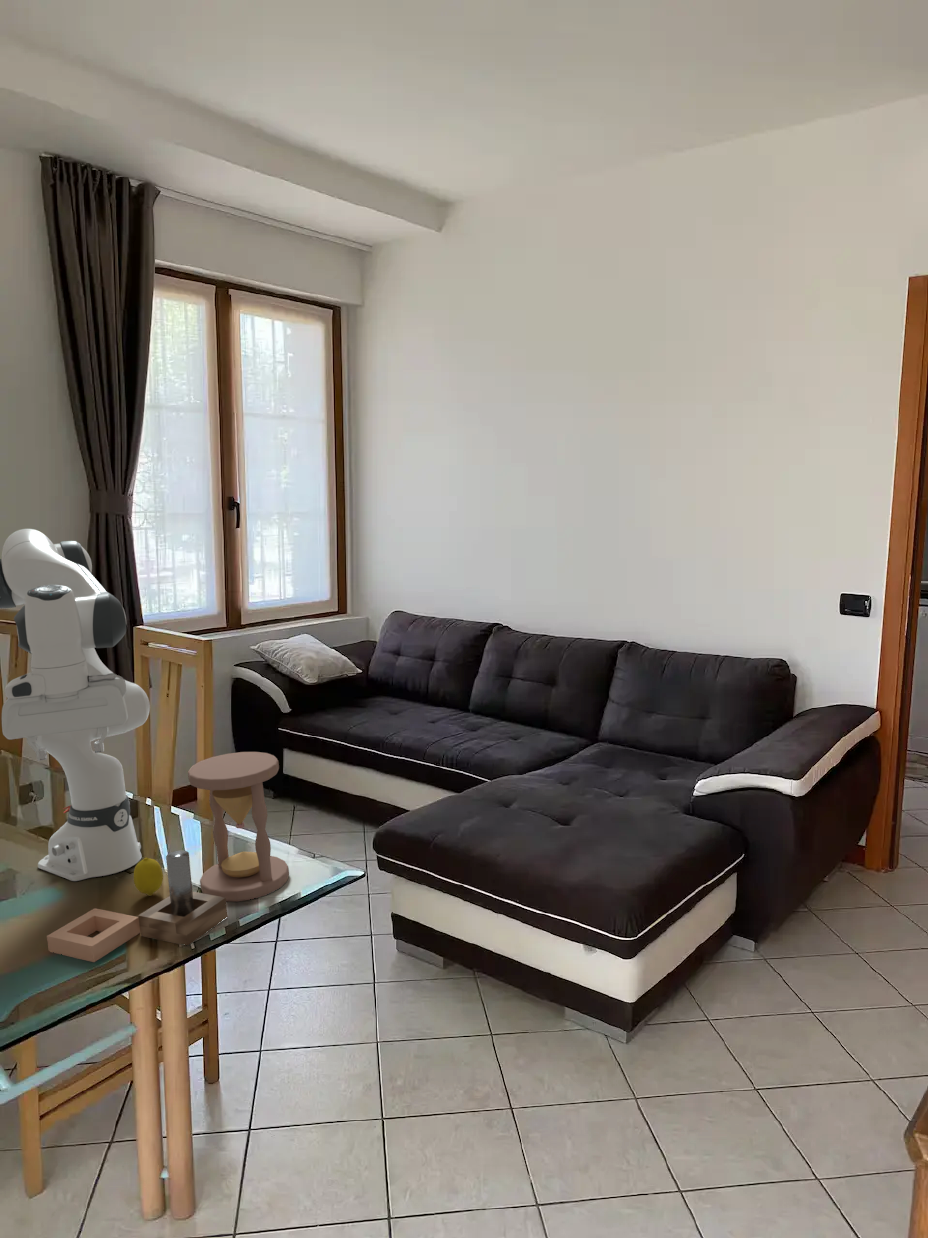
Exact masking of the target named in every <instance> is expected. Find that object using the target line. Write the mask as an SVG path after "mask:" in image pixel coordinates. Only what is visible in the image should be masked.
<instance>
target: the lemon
mask: <svg viewBox="0 0 928 1238" xmlns="http://www.w3.org/2000/svg"><path fill="white" fill-rule="evenodd" d="M160 864H161V863H159V862H158V861H157V860H156V859H154V858H151V857H150V858H149V857H147V856H146V857H144V858H143V859H140V861H139V862H138V863H136V864H135V867H134V870H133V883H134V886H135V888H136V889H137V891H139V892H140V893H142V894H146V895H148V896H153V894H154V893H155V892H157V891H159V889H160V888H161V886H162V884H163V880H164V872H163V870H162V866H161V865H160Z"/></svg>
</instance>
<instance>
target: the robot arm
mask: <svg viewBox="0 0 928 1238" xmlns="http://www.w3.org/2000/svg"><path fill="white" fill-rule="evenodd" d="M59 542H60V543H54V542H53V541H51V539H50V538H49V537H48V536H47V535H45V533H43V532H41V531H39V530H37V529H34V528H22V529H17V530H16V531H14V532H12V533H11V534H9V536H7V538H6V539H5V542H3V543H4V544H3V546H2V549H1V558H0V609H11V608H12V609H13V608H16V607H17V606H22V605H24V606H22V607H21V608H20V609H19V610H18V612H17V613H16V614H15V615H14V617H13V620H14V622H15V625H16V632H17V639H18V644H17V647H19V648H20V649H22V650H24V651H25V652H27V653H29V654H31V658H30V659H31V660H30V670H31V671H30V672H28V673H25V674H23V675H20V676H18V677H16V678H13V679H11V680H10V681H8V682H7V684H6V685H5V688H4V694H5V698H7V699H6V700H5V701H4V703H3V705H2V709H1V729H2V735H3V736H4V737H5V738H6V739H7V740H15V739H16V740H18V739H25V738H26V743H27V745H28V746H29V747H30V748H31V749H32V750H33V752H35V755H36V756H35V757H36V760H37V762H40V761H45V760H47V759H48V754H49V755H51V757H53V758H54V759H55V760H56V761H57V762H58V763H59V765H60V766H61V767H62V770H63V771H64V773H65V777H66V781H67V784H68V790H69V791H68V792H69V795H70V796H69V797H70V802H71V804H70V805H68V806H65V807H64V808H62V810H65V811H63V814H66V813H68V815H67V816H68V817H67V821H66V822H65V823H64V824H62V826H60V827H59V829H57V831H56V832H54V833H53V834H52V835H51V837H50V838H49V840H48V845H47V846H48V847H47V848H48V850H47V851H48V854H47V855H45V856H44V857H43V858H41V859H40V860H39V861H38V863H37V867H38V869H41V870H43V871H46V872H48V873H50V874H53V875H55V876H58V877H62V878H65V879H67V880H69V881H71V882H78V881H82V880H86V879H91V878H96V877H98V878H99V877H102V876H103V877H105V876H109V875H112V874H113V875H114V874H117V873H119V872H122V871H125V870H127V869H130V868H131V867H133V866H136V865H137V864H138V863H139V862H140V861H141V860H142V853H141V849H142V845H141V842H140V841H139V842H138V839H137V834H136V830H135V825H134V821H133V818H132V815H131V807H130V805H131V803H130V800H129V796H128V795H127V792H126V785H125V783H126V782H125V776H124V769H123V768H124V767H123V765H122V763H121V762H120V760H119V759H118V758H116V757H115V756H112V755H110V754H106V753H103V752H105V744H104V742H105V739H106V738H108V737H112V736H113V737H114V736H116V735H117V736H118V735H121V734H125V733H128V732H130V731H132V730H135V729H137V728H139V727H141V726H143V725H144V724H145V723H146V722H147V720H148V718H149V715H150V710H151V703H150V700H149V697H148V695H147V692H146V691H145V690H144V689H143V688H142V687H141V686H140V685H139V684H137V683H135V682H131V681H128V680H126V679H125V678H124V677H123V676H120V675H119V674H118V675H117V674H116V673H114V672H113V671H112V670H110V669H109V668H108V667H107V666H106V665H105V664H104V663H103V662H102V660H101V659H100V657H99V655H98V653H97V651H96V649H105V648H106V649H107V648H113V647H115V646H116V645H117V644H118V643H119V642H120V641H121V640H122V639H123V637H124V636H125V635H126V632H127V615H126V612H125V609H124V607H123V605H122V603H121V601H120V600H119V599H118V598H117V597H115V595H113V594H112V593H110V592H108V591H106V589H105V588H104V586H103V585H102V584H101V583H100V582H99V581H98V580H97V578H95V576H94V575H93V574H92V572H93V571H92V570H93V565H92V564H93V563H92V559H91V557H90V555H89V553H88V551H87V550H86V549H85V548H84V547H83V546H82V545H81V543H79V542H78V541H77V540H63V541H59ZM95 648H96V649H95ZM93 741H94V742H93ZM92 742H93V748H94V751H93V749H92V744H91V743H92Z"/></svg>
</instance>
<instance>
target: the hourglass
mask: <svg viewBox="0 0 928 1238" xmlns="http://www.w3.org/2000/svg"><path fill="white" fill-rule="evenodd" d="M279 764H280V762H279V760H278V758H277V757H276V756H275V755H274V754H271V753H268V752H260V751H240V752H232V753H231V752H230V753H224V754H220V755H219V754H218V755H216V756H215V755H214V756H211V757H208V758H205V759H202V760H200V761H198V762H196V763H195V764H193V765H192V766H191V767H190V768H189V770H188V771H187V776H188V777H187V778H188V782H189V783H190V785H191V786H192V787H193V788H194V787H195V788H197V789H199V790H200V789H201V790H206V791H209V799H208V801H209V807H210V810H211V812H212V814H213V817H214V823H213V829H212V835H213V840H214V845H215V850H216V855H217V856H216V858H217V863H216V864H214V865H211V867H209V868H208V869H207V870H206V871H204V872H203V874H202V875H201V877H200V879H199V885H200V886H199V887H200V889H201V893H203V894H209V895H214V896H220V897H225V898H226V903H227V902H235V903H238V902H243V901H244V902H245V901H249V900H250V899H251V900H254V898H256V899H258V897H259V898H262V897H265V896H268V895H269V893H270V894H272V893H274V892H276V891H278V890H279V888H280V889H281V888H283V886H284V885H285V884H286V883H287V882H288V879H289V876H290V869H289V866H288V864H287V863H286V862H287V861H285V860H284V859H281V858H279V857H278V856H274V855H273V856H272V855H271V851H272V847H271V845H272V844H271V841H270V838H269V835H268V833H267V831H266V830H267V829H266V825H267V823H268V822H267V821H268V808H267V805H266V801H265V793H264V785H263V784H264V783H263V782H267V781H268V780H270V779H272V778H273V777H275V776H276V775H277V774H278V772H279V769H280V765H279ZM250 810H251V817H252V820H253V823H254V825H255V828H256V830H257V831H256V836H255V843H254V846H255V847H254V849H255V851H241V852H238V853H236V854H232V855H230V856H229V848H228V846H229V845H228V841H229V832H228V831H229V830H228V828H227V825H226V823H225V820H224V818H223V817H224V812H226V814H227V815H229V817H230V818H231V819H232V820H233V822H235V828H237V829H243V828H245V822H244V820H245V819H246V818H247V815H248V814H249V812H250ZM277 889H278V890H277ZM275 890H276V891H275ZM273 891H274V892H273ZM271 892H272V893H271ZM267 894H268V895H267Z"/></svg>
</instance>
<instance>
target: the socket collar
mask: <svg viewBox="0 0 928 1238" xmlns="http://www.w3.org/2000/svg"><path fill="white" fill-rule="evenodd" d="M95 932H99V933H98V934H96V935H95V936H93V937H90V935H92V934H93V933H95ZM139 934H140V926H139V918H138V916H135V915H130V914H126V913H121V912H115V911H111V910H105V909H99V908H95V907H94V908H92V909H91V910H89V911H87V912H86V913H84V914H82V915H81V916H78V917H77V918H75V919H73V920H72V921H70V922H68V923H66V924H65V925H63V926H62V927H60V928H58V929H57V930H55V931H53V932H51V933H50V934H47V935H46V940H47V941H46V942H47V946H48V952H49V951H52V952H51V953H53V952H54V953H53V954H57V955H61V954H62V955H63V956H66V957H70V958H74V959H78V960H83V961H87V962H91V963H95V962H97V961H98V960H100V959H102V958H103V957H106V955H108V954H110V953H111V952H113V951H114V950H115V949H117V948H118V947H120V946H123V944H125V943H126V942H128V941H130V940H131V939H133V938H135V937H136V936H137V935H139Z"/></svg>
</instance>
